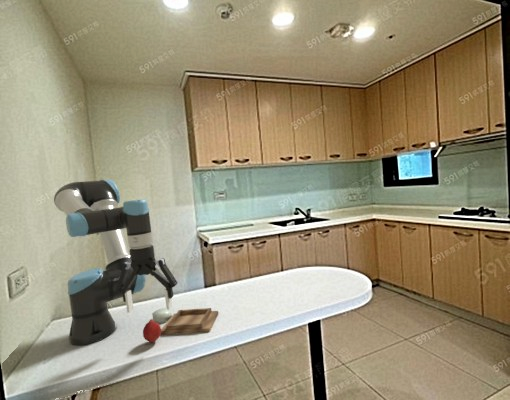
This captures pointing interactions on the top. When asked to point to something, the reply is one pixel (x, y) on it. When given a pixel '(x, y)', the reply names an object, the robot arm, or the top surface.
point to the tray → (190, 321)
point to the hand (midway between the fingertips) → (149, 309)
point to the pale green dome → (161, 315)
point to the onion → (151, 331)
